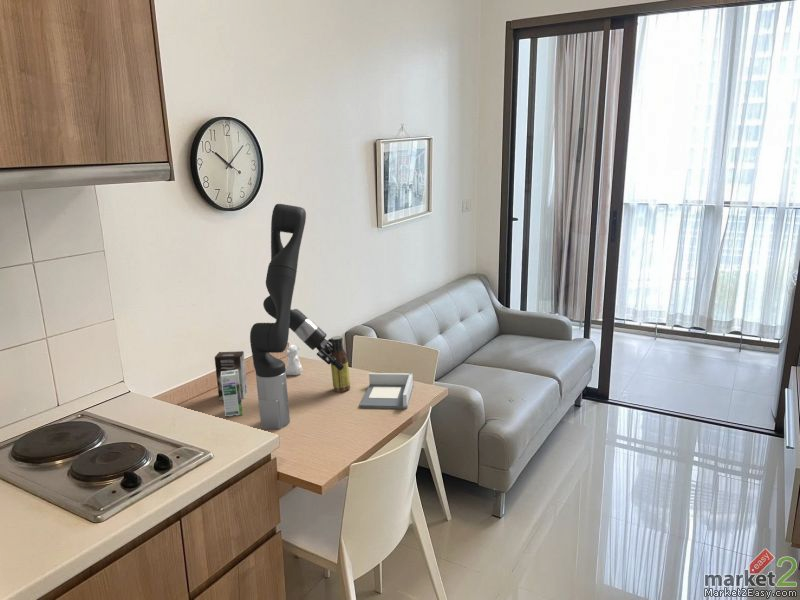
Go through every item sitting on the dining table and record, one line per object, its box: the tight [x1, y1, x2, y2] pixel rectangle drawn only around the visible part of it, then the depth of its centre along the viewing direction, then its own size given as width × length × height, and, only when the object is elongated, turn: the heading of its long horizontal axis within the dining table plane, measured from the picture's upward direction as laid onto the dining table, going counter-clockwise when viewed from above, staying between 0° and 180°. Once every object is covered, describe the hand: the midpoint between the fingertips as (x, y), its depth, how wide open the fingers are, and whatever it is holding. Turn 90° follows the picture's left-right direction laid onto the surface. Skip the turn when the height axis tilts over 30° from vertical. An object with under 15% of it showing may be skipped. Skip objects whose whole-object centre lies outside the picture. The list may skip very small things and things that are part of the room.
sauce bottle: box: [330, 335, 351, 393], centre depth 214 cm, size 6×6×20 cm
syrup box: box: [221, 369, 244, 417], centre depth 198 cm, size 6×6×14 cm
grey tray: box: [359, 372, 414, 410], centre depth 208 cm, size 20×16×5 cm
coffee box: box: [214, 350, 248, 401], centre depth 212 cm, size 9×6×16 cm
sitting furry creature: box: [285, 344, 303, 376], centre depth 234 cm, size 10×9×12 cm
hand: (344, 365), depth 214 cm, fingers closed on sauce bottle, 6 cm apart
